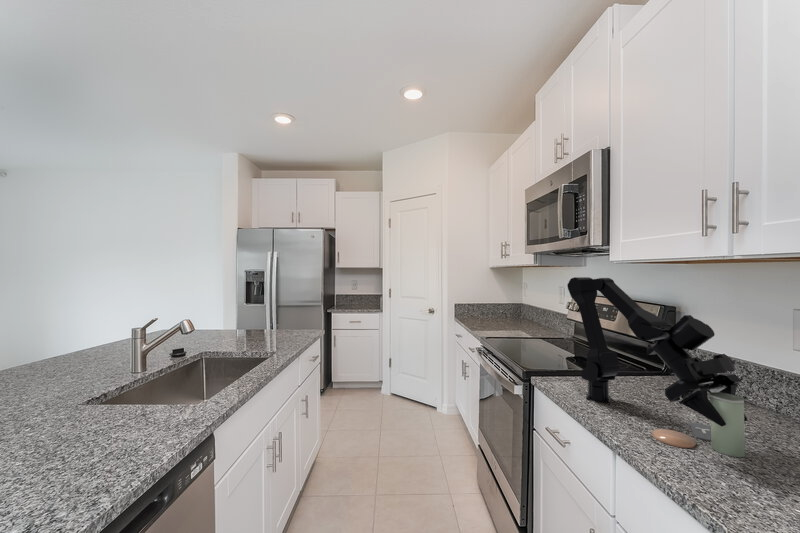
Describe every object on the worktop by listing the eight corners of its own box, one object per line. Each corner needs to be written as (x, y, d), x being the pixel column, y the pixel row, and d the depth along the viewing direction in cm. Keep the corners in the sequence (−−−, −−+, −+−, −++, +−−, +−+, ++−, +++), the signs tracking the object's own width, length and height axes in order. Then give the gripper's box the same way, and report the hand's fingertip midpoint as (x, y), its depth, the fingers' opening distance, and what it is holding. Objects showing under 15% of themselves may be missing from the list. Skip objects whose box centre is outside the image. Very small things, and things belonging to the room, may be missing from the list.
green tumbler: (708, 442, 79) (707, 390, 79) (741, 448, 76) (739, 395, 76) (714, 452, 74) (712, 397, 75) (749, 460, 71) (747, 403, 72)
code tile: (688, 422, 89) (688, 421, 89) (729, 430, 85) (729, 428, 85) (695, 438, 81) (695, 436, 81) (741, 447, 77) (741, 445, 77)
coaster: (651, 428, 86) (651, 426, 86) (692, 436, 82) (692, 434, 82) (654, 441, 79) (654, 439, 79) (698, 451, 75) (698, 448, 75)
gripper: (676, 345, 77) (739, 412, 66) (730, 339, 82) (796, 401, 72) (643, 370, 84) (694, 435, 73) (694, 364, 90) (749, 423, 79)
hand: (734, 423), depth 74 cm, fingers open, 7 cm apart
